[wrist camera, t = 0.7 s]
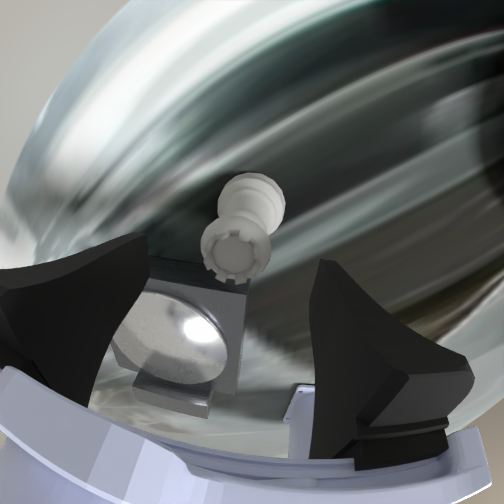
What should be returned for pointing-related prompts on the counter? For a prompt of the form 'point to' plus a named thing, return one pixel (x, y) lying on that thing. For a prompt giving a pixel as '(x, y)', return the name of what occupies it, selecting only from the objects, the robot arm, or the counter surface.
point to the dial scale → (184, 336)
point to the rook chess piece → (243, 227)
